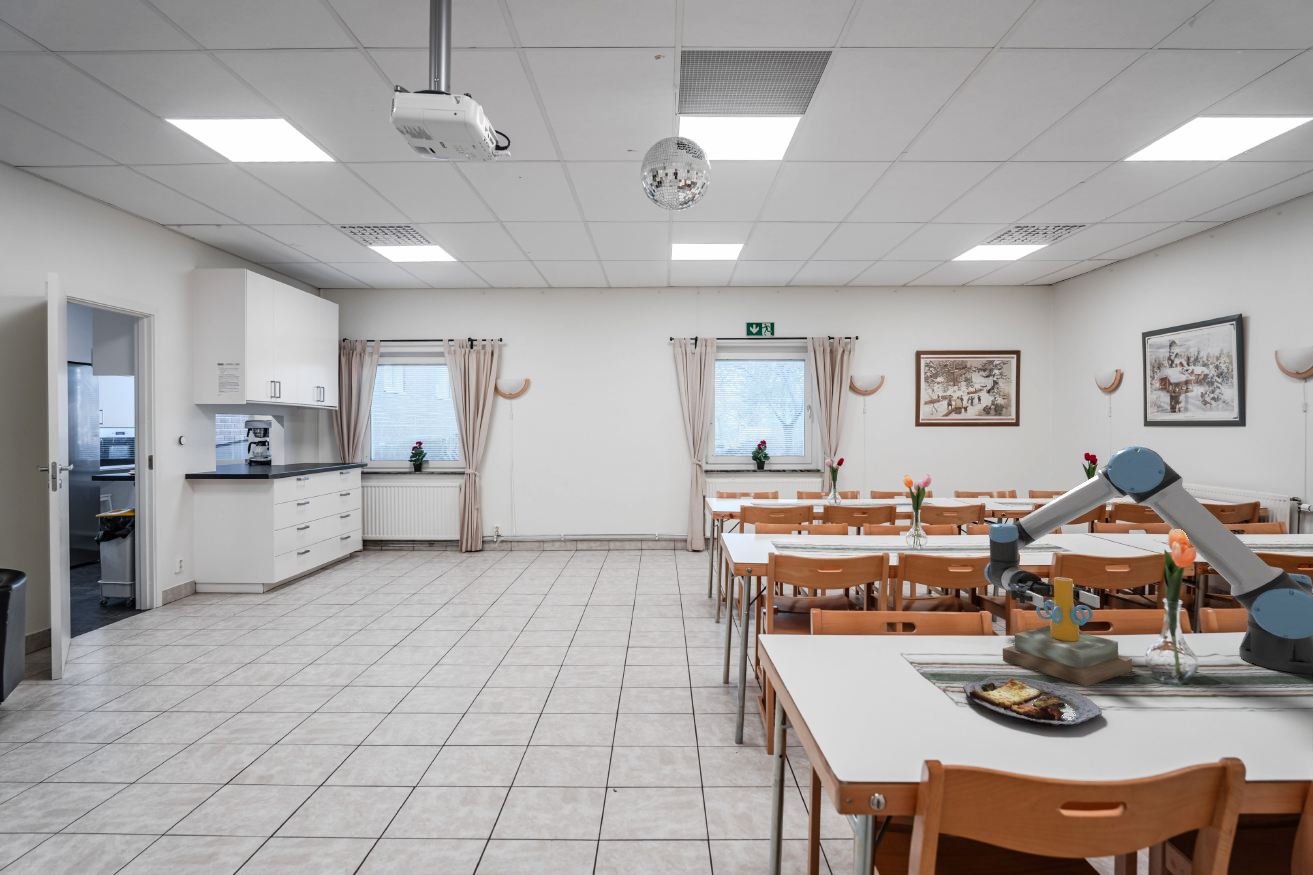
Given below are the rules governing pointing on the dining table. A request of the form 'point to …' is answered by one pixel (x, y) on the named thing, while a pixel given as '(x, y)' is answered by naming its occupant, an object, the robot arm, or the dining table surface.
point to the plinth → (1070, 670)
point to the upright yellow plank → (1064, 612)
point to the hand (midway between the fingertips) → (1070, 602)
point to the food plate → (1030, 699)
